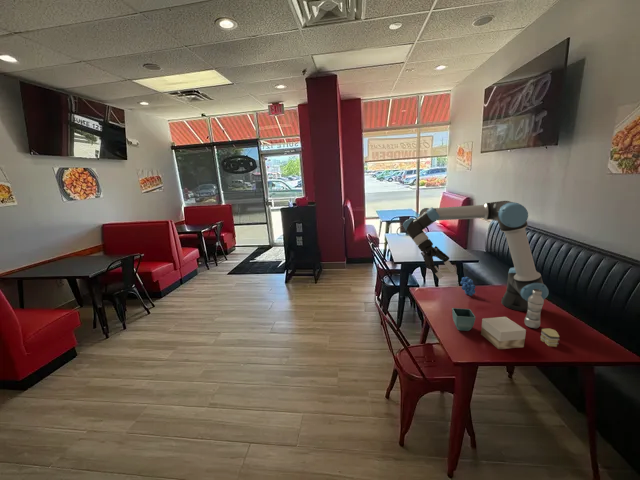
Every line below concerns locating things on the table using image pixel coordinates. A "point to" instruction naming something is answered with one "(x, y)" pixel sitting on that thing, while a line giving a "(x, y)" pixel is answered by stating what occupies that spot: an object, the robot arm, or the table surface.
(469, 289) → the grapes
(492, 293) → the table surface
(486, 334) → the bottom slab
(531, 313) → the plastic bottle
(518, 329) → the top slab
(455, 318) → the flower pot
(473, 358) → the table surface
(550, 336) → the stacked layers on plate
